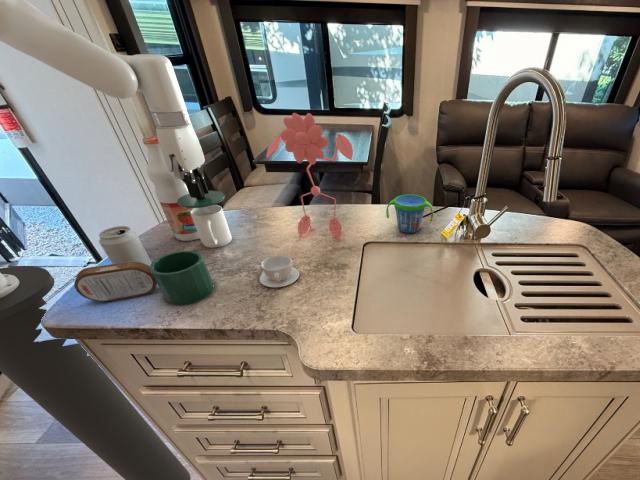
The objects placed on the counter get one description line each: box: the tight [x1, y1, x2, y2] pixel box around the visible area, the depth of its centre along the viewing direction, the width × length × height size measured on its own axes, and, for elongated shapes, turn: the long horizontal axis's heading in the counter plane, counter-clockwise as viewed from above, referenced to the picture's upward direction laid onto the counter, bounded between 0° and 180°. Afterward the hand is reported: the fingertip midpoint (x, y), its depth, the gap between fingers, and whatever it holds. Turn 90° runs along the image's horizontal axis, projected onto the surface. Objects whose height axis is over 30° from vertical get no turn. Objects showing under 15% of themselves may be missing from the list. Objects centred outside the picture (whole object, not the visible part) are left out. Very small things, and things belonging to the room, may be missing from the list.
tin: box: [73, 262, 158, 303], centre depth 73 cm, size 15×3×8 cm, turn 113°
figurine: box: [265, 112, 354, 253], centre depth 90 cm, size 15×26×35 cm, turn 80°
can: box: [98, 225, 153, 266], centre depth 80 cm, size 8×8×12 cm
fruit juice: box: [141, 135, 200, 242], centre depth 93 cm, size 9×9×28 cm
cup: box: [190, 204, 233, 249], centre depth 94 cm, size 8×12×10 cm
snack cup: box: [385, 193, 434, 234], centre depth 106 cm, size 16×10×10 cm
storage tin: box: [149, 250, 215, 306], centre depth 75 cm, size 10×10×8 cm
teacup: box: [259, 254, 300, 288], centre depth 82 cm, size 10×10×5 cm
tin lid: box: [177, 176, 226, 208], centre depth 87 cm, size 12×12×7 cm
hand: (199, 194), depth 88 cm, fingers closed on tin lid, 2 cm apart
